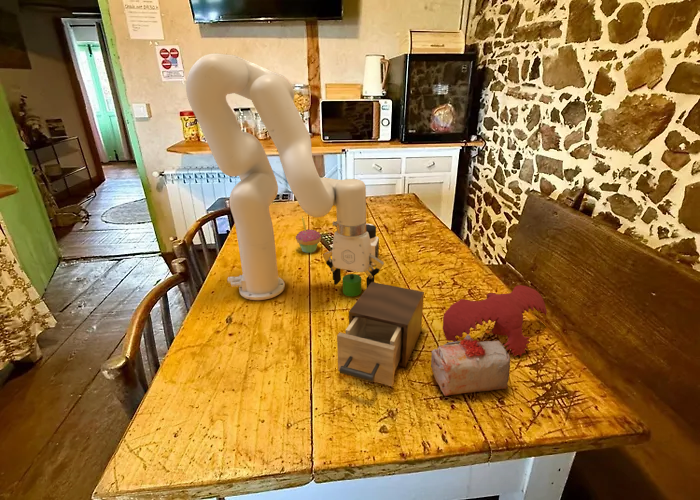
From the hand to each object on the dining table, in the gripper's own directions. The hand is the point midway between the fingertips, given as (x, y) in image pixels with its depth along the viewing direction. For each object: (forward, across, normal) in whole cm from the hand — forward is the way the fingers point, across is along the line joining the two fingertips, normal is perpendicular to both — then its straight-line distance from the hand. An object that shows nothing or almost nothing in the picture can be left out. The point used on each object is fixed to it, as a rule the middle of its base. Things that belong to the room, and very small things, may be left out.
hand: (353, 285), depth 109 cm
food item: (+2, +34, -24) cm, 42 cm away
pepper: (+2, 0, 0) cm, 2 cm away
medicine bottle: (+2, -4, +20) cm, 20 cm away
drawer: (+1, +15, -28) cm, 32 cm away
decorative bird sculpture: (+3, +39, -8) cm, 40 cm away
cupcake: (+2, -25, +20) cm, 32 cm away
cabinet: (+2, +15, -18) cm, 23 cm away
